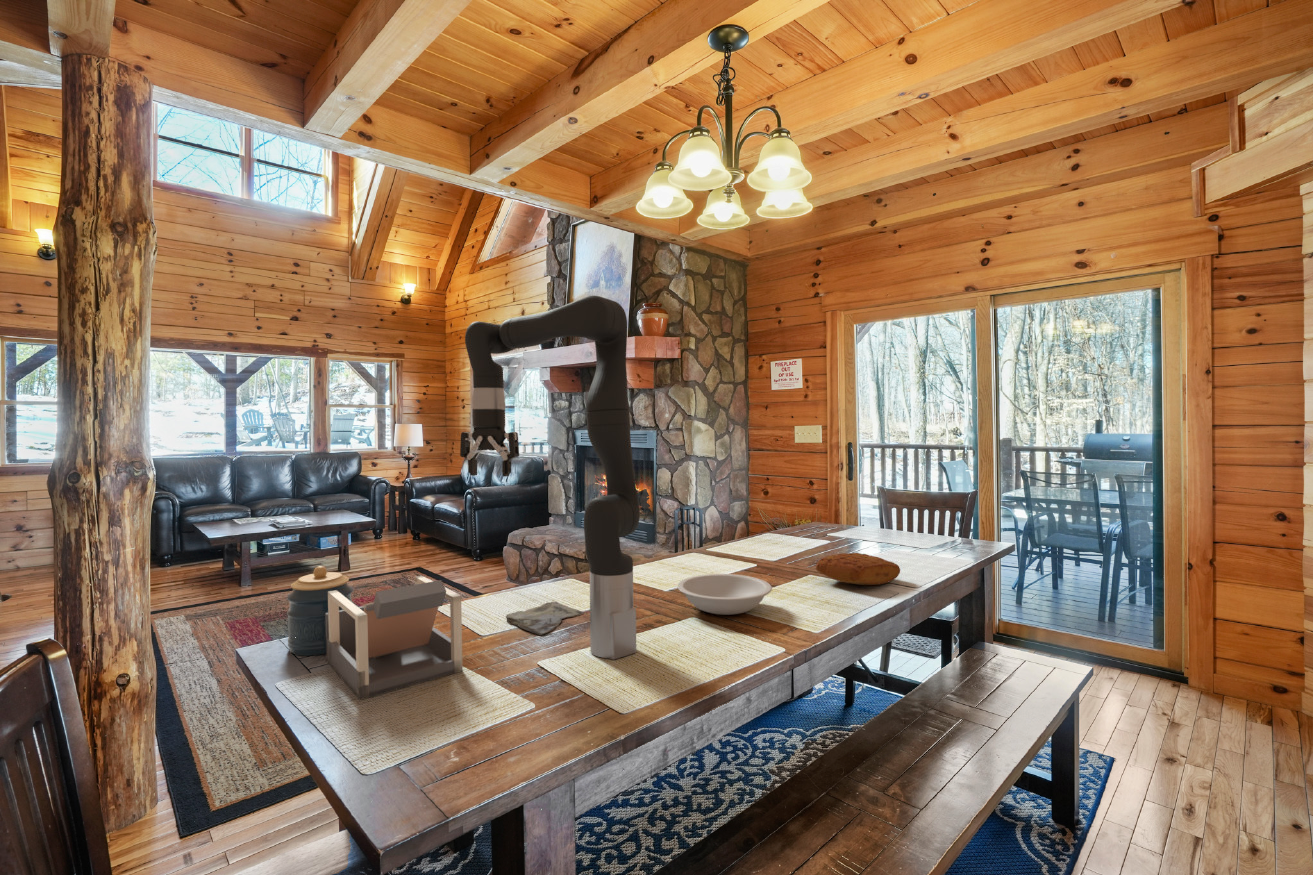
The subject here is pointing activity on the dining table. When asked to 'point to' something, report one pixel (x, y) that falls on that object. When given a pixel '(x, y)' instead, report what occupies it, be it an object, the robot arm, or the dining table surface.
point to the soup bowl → (724, 592)
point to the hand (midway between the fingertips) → (489, 475)
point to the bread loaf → (858, 569)
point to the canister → (312, 610)
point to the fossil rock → (542, 617)
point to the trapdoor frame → (392, 669)
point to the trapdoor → (403, 617)
